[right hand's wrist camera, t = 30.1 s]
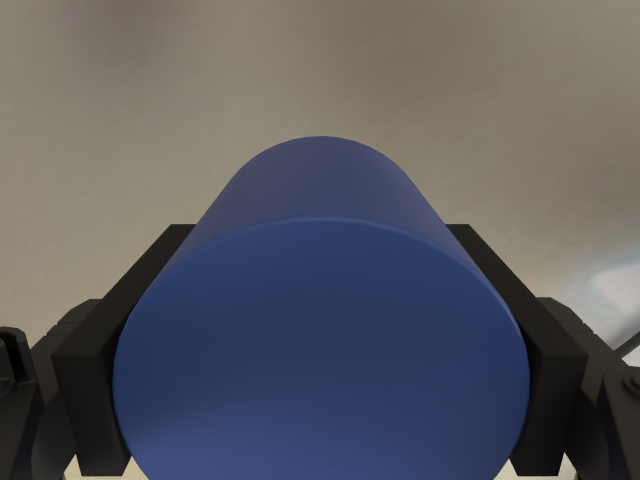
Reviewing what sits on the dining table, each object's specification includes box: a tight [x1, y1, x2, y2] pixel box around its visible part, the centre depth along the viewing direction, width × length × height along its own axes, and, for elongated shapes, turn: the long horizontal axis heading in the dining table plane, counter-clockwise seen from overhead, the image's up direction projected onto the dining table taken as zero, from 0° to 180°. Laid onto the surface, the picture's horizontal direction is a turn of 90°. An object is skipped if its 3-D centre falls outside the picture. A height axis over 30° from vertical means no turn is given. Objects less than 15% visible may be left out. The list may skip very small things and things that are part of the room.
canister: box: [112, 136, 530, 480], centre depth 12 cm, size 7×7×8 cm
